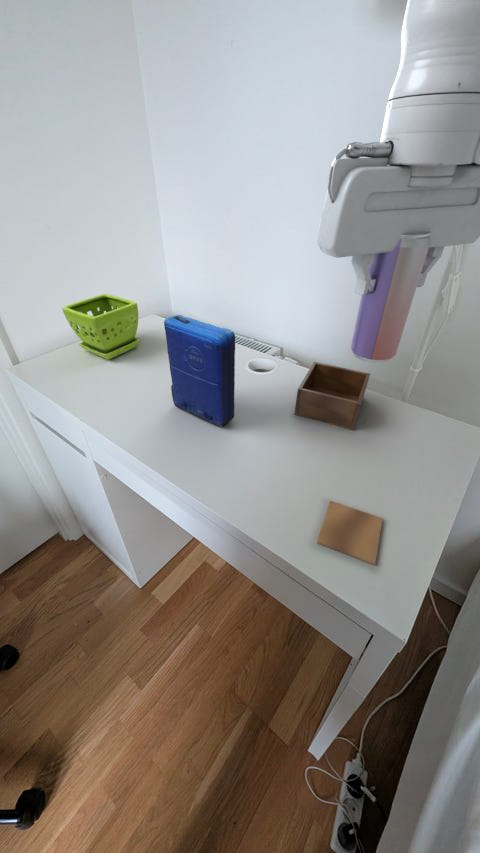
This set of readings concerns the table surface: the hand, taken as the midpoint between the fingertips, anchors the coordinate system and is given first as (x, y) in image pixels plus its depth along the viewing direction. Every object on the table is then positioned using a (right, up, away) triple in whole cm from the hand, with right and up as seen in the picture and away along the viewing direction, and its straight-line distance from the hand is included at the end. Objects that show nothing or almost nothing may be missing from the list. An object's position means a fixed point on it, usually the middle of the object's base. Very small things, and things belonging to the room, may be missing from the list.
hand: (389, 289), depth 41 cm
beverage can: (0, -7, +6) cm, 9 cm away
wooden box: (+2, -12, +33) cm, 35 cm away
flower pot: (-54, +5, +54) cm, 77 cm away
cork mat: (-2, -32, +9) cm, 33 cm away
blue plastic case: (-26, -14, +31) cm, 43 cm away
